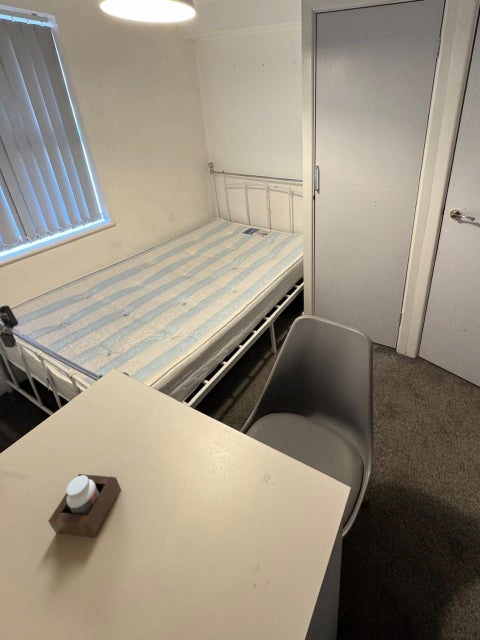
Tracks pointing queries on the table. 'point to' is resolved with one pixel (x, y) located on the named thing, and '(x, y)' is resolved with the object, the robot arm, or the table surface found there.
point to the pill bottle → (81, 495)
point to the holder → (91, 523)
